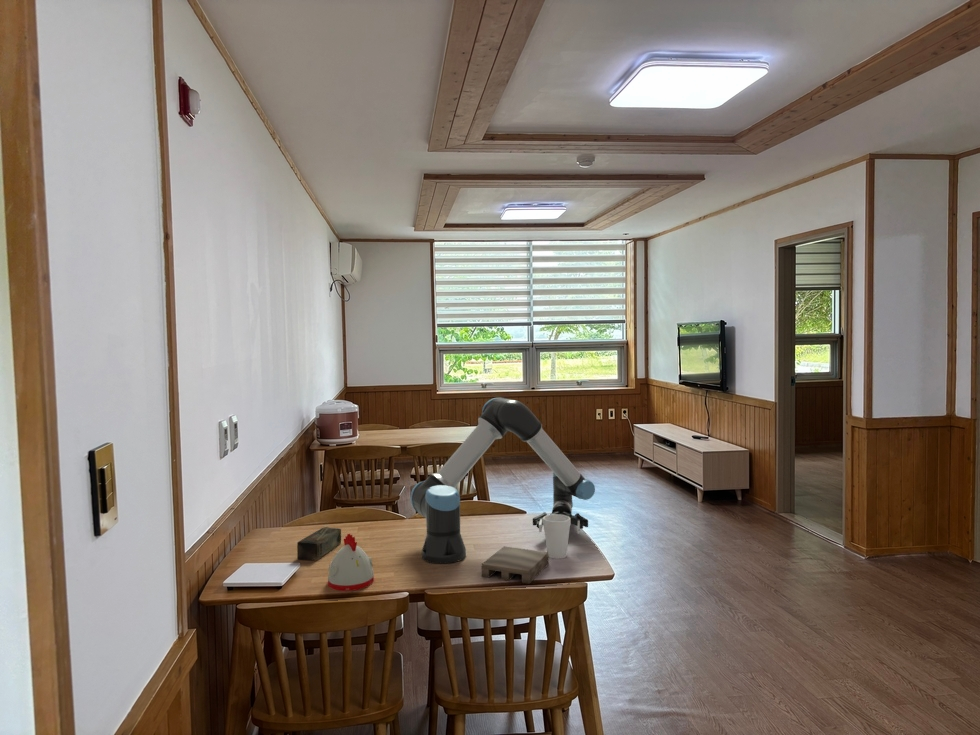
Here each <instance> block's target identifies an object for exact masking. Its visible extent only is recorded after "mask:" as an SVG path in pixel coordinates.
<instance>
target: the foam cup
mask: <svg viewBox="0 0 980 735" xmlns="http://www.w3.org/2000/svg"><path fill="white" fill-rule="evenodd" d="M571 525H572V524H571V518H570V517H569V516H566V515H560V514H552V515H550V514H547V516H544V517H543V525H542V527H543V530H544V532H543V533H544V538H545V544H546V552H548V556H549V558H551V559H555V560H556V559H557V560H558V559H565V558H566V557H567V554H568V545H569V537H570V530H571V529H570V528H571Z"/></svg>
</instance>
